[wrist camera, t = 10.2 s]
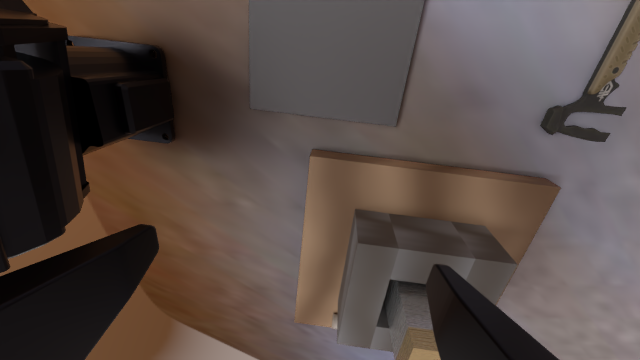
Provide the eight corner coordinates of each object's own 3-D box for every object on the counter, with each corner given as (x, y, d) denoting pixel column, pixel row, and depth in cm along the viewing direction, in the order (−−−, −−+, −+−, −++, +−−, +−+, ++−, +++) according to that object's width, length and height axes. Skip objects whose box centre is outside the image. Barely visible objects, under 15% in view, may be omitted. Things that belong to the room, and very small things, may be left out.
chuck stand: (296, 308, 27) (286, 365, 22) (312, 149, 20) (302, 180, 15) (466, 332, 26) (494, 396, 22) (545, 178, 19) (616, 221, 14)
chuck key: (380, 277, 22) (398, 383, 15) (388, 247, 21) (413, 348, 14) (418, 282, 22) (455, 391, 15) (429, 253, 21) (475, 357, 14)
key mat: (251, 107, 19) (249, 108, 18) (251, -80, 14) (248, -85, 14) (394, 124, 18) (395, 126, 18) (436, -61, 14) (439, -65, 14)
